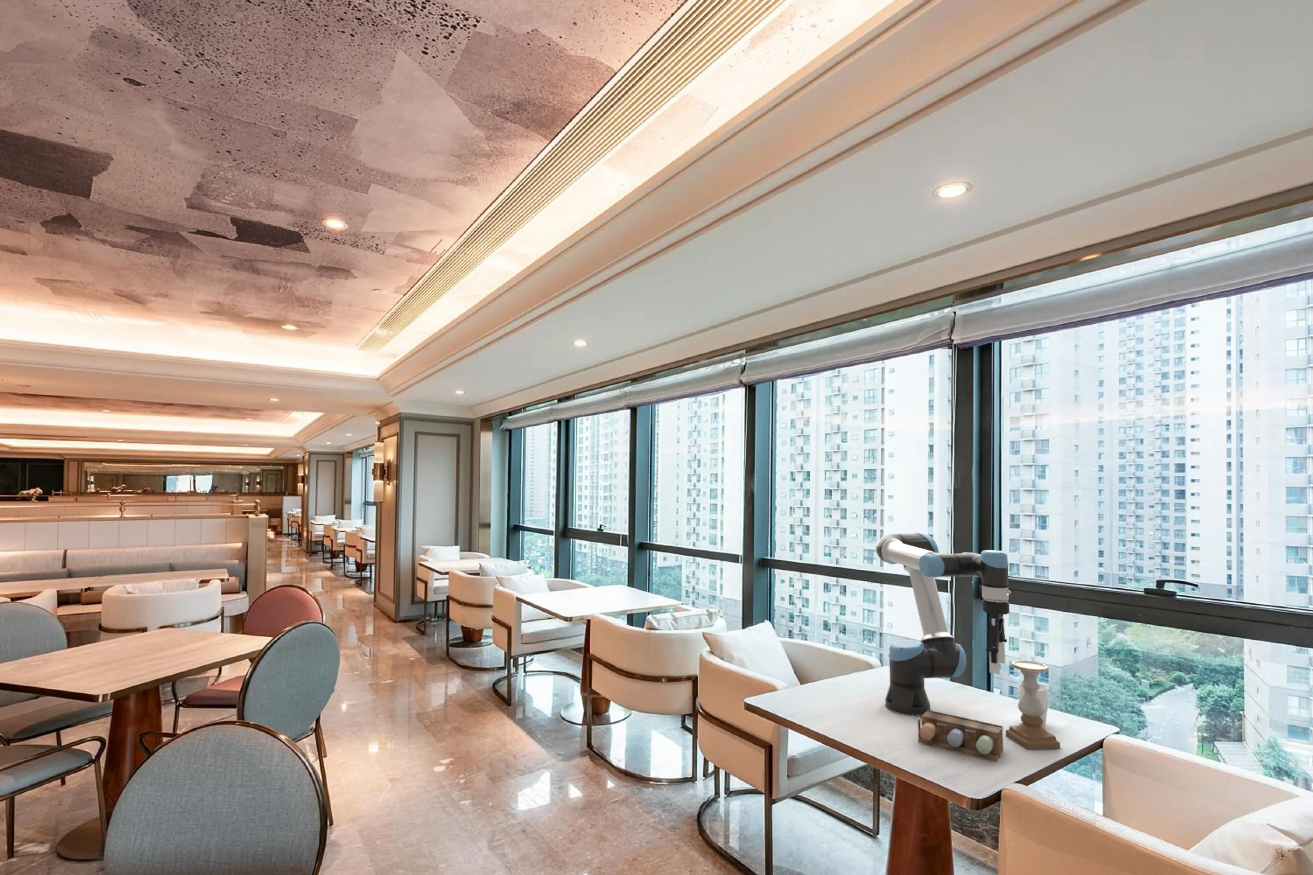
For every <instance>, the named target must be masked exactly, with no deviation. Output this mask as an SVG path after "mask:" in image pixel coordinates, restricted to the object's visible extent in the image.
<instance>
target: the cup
mask: <svg viewBox="0 0 1313 875" xmlns="http://www.w3.org/2000/svg"><path fill="white" fill-rule="evenodd" d="M1021 683H1022V682H1020V683H1018V686H1017V687H1018V688H1017V695H1018V700H1019V701H1020V699H1021V698H1022V697H1023V695H1024V693H1025V691H1024V688H1023V686H1022V685H1021ZM1038 684H1039V683H1038ZM1039 686H1040V688H1039V689H1038V691H1037V696H1038V698H1039V699H1040V701H1041V702H1042V704H1043V706H1044V709H1045V712H1044V714H1043V715H1041V716H1040V717H1041V718H1042V720H1043V724H1042V725H1041V726H1042V727H1043V726H1046V723H1047V714H1048V710H1049V709H1048V708H1049V699H1050V697H1049V689H1048V688H1049V687H1047V686H1045V685H1043V684H1039ZM1019 701H1018V702H1019ZM1022 714H1023V713H1022V712H1021V715H1022Z"/></svg>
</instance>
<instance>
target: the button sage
mask: <svg viewBox="0 0 1313 875" xmlns="http://www.w3.org/2000/svg"><path fill="white" fill-rule="evenodd" d="M993 746H994V743H993V740H992V739H991V738H990V737H988V736H985V735H983V736H981V737H980V738H979V739H978V741H977V742H976V748H977V750H978V751H979V752H980V753H982V754H988V753H990V751H991V750H992V748H993Z"/></svg>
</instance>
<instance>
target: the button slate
mask: <svg viewBox="0 0 1313 875" xmlns="http://www.w3.org/2000/svg"><path fill="white" fill-rule="evenodd" d="M947 741H948V743H949V744H950V745H951V746H953V747H958V746H960V745H961V743H962V742H963V741H964V734H963V733H962V731H960V730H959V729H953V730H952V731H951V732H950V733H949V734H948V736H947Z"/></svg>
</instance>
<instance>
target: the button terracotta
mask: <svg viewBox="0 0 1313 875" xmlns="http://www.w3.org/2000/svg"><path fill="white" fill-rule="evenodd" d="M919 732H920V735H921V737H922V738H923V739H925V740H931V739H932V738H933V737H934V735H935V734H936V732H937V730H936V727H935V726H934V725H933V724H932V723H925V724H924V725H923V726H922V725H921V726H920V731H919Z"/></svg>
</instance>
